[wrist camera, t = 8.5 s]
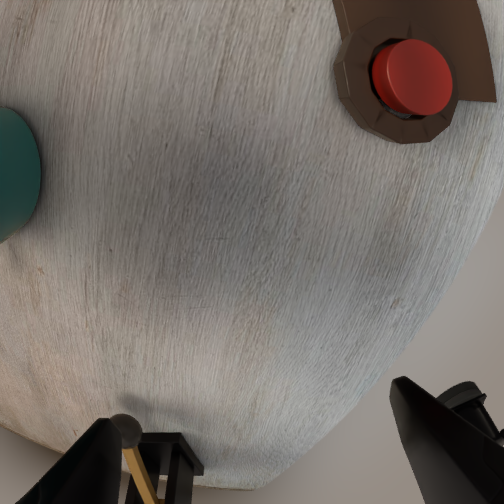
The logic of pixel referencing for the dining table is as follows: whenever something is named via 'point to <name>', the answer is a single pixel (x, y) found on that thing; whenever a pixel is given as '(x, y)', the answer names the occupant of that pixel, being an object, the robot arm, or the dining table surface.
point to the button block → (403, 28)
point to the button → (412, 78)
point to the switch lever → (135, 456)
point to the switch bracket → (167, 467)
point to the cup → (17, 173)
